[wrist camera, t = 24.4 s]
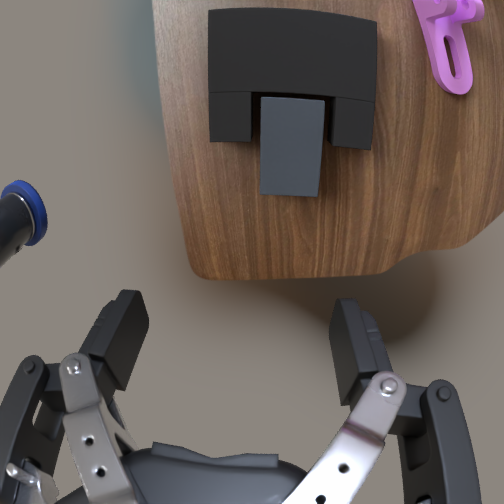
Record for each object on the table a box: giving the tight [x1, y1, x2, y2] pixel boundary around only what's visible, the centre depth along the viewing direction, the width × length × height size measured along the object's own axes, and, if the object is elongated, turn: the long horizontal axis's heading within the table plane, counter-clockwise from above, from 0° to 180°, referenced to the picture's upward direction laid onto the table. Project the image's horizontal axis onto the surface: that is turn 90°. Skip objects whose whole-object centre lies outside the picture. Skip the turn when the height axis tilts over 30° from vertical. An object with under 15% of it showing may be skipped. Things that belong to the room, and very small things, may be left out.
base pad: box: [208, 8, 377, 150], centre depth 23 cm, size 16×14×3 cm
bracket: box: [412, 0, 484, 94], centre depth 16 cm, size 13×6×7 cm, turn 15°
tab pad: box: [260, 97, 325, 197], centre depth 27 cm, size 6×10×3 cm, turn 0°
